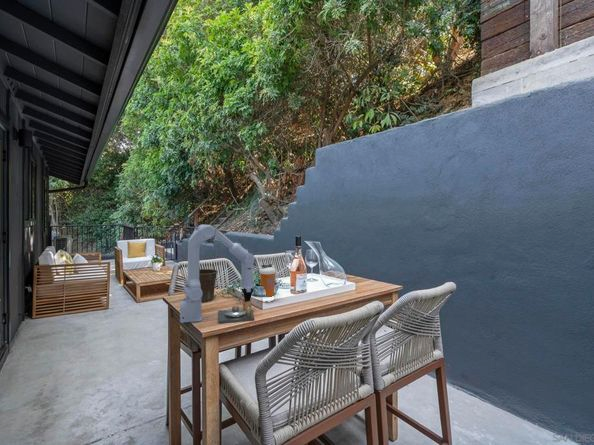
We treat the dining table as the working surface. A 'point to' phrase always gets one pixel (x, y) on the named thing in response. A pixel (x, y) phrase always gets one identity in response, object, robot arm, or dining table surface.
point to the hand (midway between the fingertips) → (247, 303)
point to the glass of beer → (268, 279)
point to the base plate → (225, 319)
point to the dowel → (248, 311)
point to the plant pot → (207, 283)
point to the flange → (238, 310)
